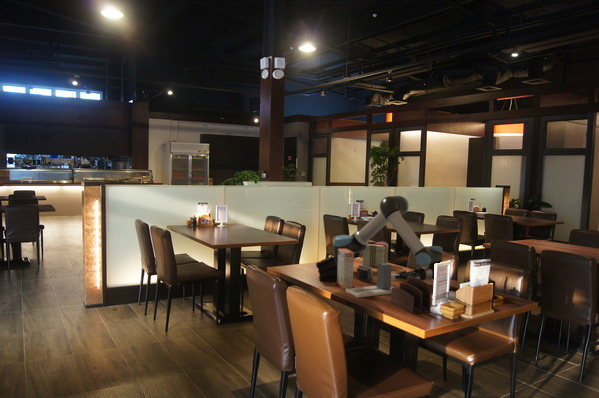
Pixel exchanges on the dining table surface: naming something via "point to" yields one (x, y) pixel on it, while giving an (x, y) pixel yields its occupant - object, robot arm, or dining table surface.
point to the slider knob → (384, 276)
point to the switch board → (368, 291)
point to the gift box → (375, 253)
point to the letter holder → (412, 295)
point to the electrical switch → (365, 273)
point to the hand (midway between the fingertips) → (389, 277)
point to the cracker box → (345, 268)
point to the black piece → (327, 270)
